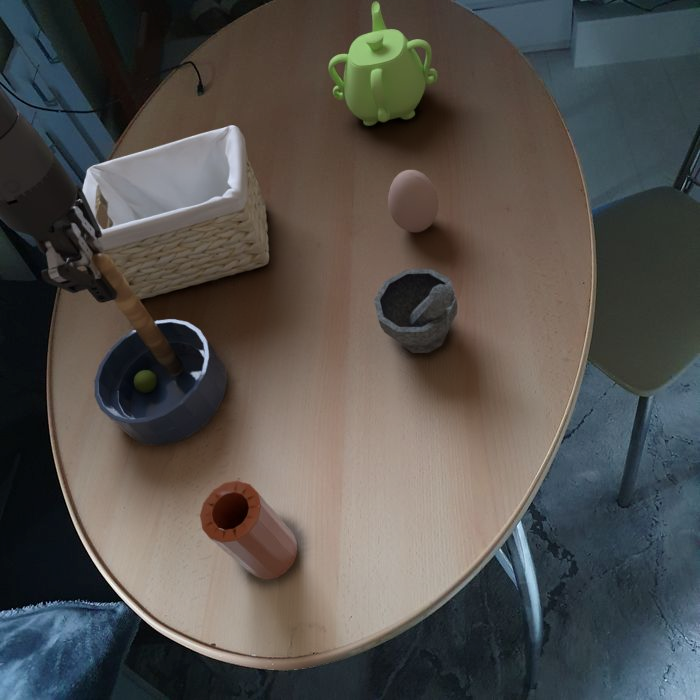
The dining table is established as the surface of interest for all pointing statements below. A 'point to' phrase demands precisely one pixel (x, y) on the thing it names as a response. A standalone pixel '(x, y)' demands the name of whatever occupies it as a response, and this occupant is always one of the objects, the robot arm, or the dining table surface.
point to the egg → (413, 201)
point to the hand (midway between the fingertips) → (109, 288)
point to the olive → (145, 381)
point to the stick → (139, 316)
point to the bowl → (161, 385)
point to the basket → (181, 212)
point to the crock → (248, 530)
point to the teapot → (382, 74)
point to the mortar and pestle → (417, 309)
